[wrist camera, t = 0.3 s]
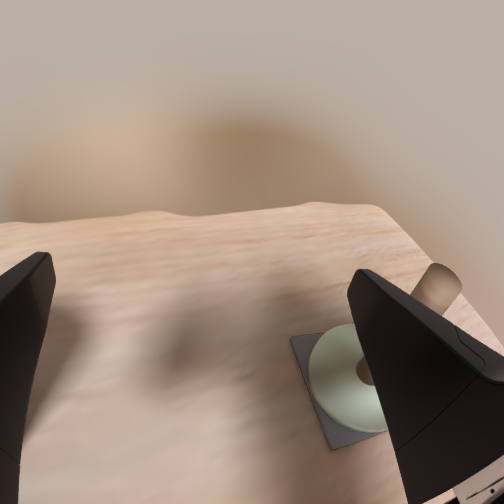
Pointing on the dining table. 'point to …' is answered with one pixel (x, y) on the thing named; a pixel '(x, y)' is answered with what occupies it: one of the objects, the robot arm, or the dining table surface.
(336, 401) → the wooden peg on disc
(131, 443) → the dining table surface
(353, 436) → the mat
